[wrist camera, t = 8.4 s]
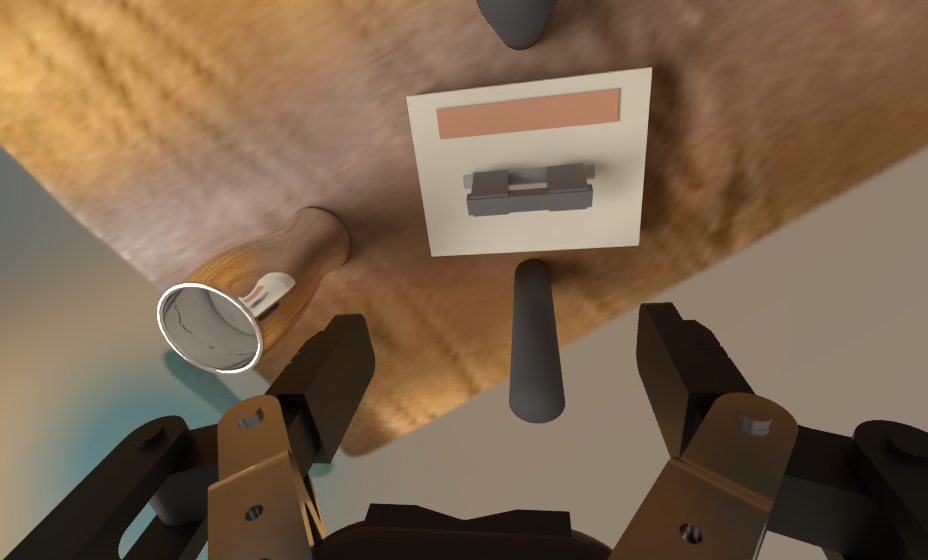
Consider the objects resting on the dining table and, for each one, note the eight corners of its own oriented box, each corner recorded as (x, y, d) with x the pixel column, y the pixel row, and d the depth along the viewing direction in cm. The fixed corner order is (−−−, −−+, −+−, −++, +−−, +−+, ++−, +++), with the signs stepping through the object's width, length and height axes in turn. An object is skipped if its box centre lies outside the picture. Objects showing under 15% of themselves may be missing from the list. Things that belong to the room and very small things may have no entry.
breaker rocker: (463, 168, 30) (458, 198, 27) (593, 157, 28) (601, 187, 26) (466, 187, 31) (461, 218, 28) (592, 177, 30) (599, 209, 27)
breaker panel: (416, 94, 31) (405, 96, 29) (640, 67, 29) (653, 67, 26) (438, 242, 37) (431, 257, 34) (629, 231, 34) (639, 246, 31)
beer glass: (359, 212, 36) (264, 296, 23) (352, 281, 40) (266, 389, 26) (281, 194, 36) (143, 266, 23) (282, 264, 40) (161, 362, 26)
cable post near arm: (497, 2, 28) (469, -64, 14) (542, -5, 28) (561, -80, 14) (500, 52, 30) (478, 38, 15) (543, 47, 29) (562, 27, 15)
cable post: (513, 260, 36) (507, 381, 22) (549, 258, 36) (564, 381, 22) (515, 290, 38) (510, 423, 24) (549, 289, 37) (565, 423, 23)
